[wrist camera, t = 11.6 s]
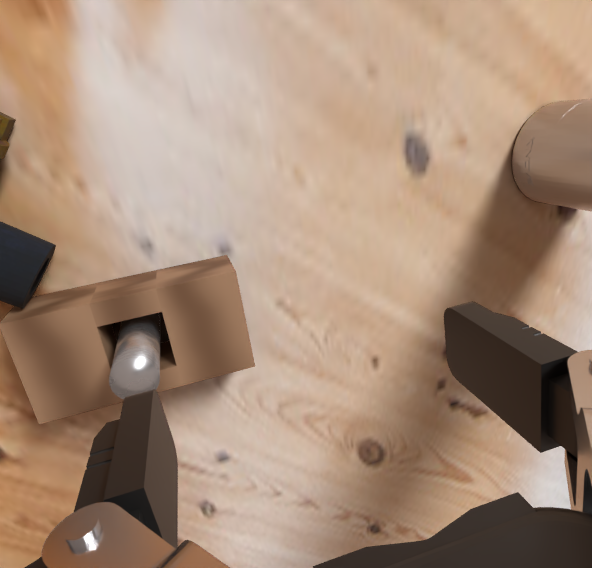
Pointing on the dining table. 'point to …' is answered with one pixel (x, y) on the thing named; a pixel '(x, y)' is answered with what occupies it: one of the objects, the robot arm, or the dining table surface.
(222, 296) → the socket block
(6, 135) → the pipe connector
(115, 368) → the pin
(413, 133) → the dining table surface
